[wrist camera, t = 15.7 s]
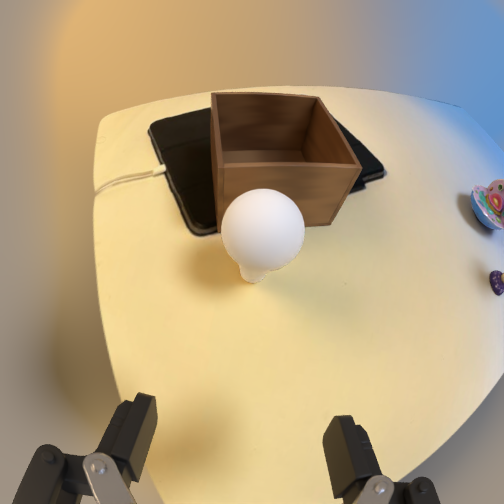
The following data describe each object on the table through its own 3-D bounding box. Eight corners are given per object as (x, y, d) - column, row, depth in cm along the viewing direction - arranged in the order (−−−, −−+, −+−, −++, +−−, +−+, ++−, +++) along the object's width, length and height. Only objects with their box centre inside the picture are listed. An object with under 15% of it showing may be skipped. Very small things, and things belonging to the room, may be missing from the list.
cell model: (454, 190, 39) (481, 156, 30) (487, 203, 39) (513, 176, 31) (471, 235, 34) (506, 202, 26) (503, 244, 35) (534, 218, 26)
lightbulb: (244, 316, 25) (260, 263, 15) (209, 266, 27) (203, 193, 17) (294, 281, 27) (333, 217, 17) (258, 237, 29) (275, 160, 19)
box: (217, 232, 29) (217, 168, 21) (210, 152, 35) (211, 92, 27) (330, 225, 31) (362, 168, 23) (302, 151, 37) (318, 96, 29)
